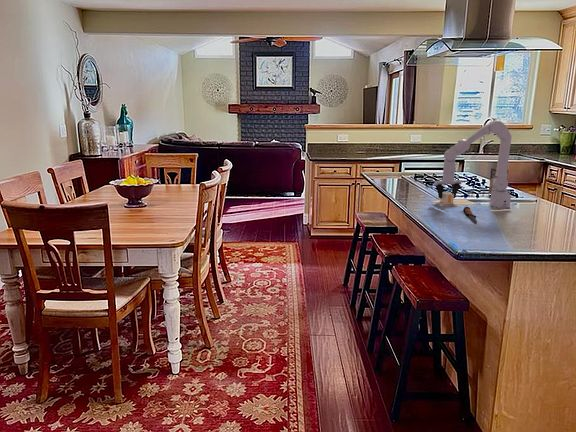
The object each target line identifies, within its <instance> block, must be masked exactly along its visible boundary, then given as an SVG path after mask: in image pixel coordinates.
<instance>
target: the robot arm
mask: <svg viewBox="0 0 576 432" xmlns="http://www.w3.org/2000/svg"><path fill="white" fill-rule="evenodd" d="M491 134H493V135H496V137H497V138H498V139H499V140H500V141H499V150H498V157H497V165H496V168H497V171H496V174H495V177H494V179H493V181H492V184H493V186H494V187H493V188H492V191H491V196H490V201H489V204H490V206H492V207H497V208H498V209H505V208H506V210H509V209H511V208H510V207H511V198H512V197H511V196H512V195H511V194H510V192H508V186H509V181H508V177H507V170H508V165H509V160H510V159H509V158H510V150H511V145H512V135H511V133H510V131H509V128H508V127H507V125H506V124H505V123H504V122H502V121H500V120H497V119H495V120H492V121H490V122H489V123H487V124H485V125H484V126H482V127H481V128H479V129H478V130H477V131H476V132H474V133H473V134H472V135H470V136H469V137H468V138H467V139H459V140H458V141H457V143H456V144H454V145H453V146H450V147H449V149H447V150H446V151H444V154H443V157H444V160H443V161H444V162H443V169H442V180H441V179H440V180H434V186H435V189H436V191H437V195H438V199H439V200H440V199H442V193H443V192H444V187H445V185H447V186H448V185H451V193H452V194H454V198H453V199H456V195H457V194H458V191H459V190H460V189H461V185H462V183H463V181H462V180H459V179H455V173H456V172H455V170H456V159H457V157H458V156H460V155H462V154H464V153H465V152H466V151H468V150H469V149H470V147H471V145H472V144H473V143H474V142H476V141H478V140H479V139H480V138H481V137H483V136H485V135H486V136H487V135H491Z"/></svg>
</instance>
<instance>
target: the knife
mask: <svg viewBox="0 0 576 432" xmlns="http://www.w3.org/2000/svg"><path fill="white" fill-rule="evenodd" d="M463 212H464V213H465V215H464V216H465V217H467V218H469V219H470V220H471V222H472V223H473V224H474V225H477V224H478V221H477V215H475V214H473V212H472V210H471V208H470V207H469V206H464V208H463Z"/></svg>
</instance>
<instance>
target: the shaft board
mask: <svg viewBox="0 0 576 432" xmlns="http://www.w3.org/2000/svg"><path fill="white" fill-rule="evenodd" d="M429 201H431V202H433V203H436V204H438V205H441V206H443V207H452V206H455V207H456V206H473V205H477V206H478V203H476V202H473V201H470V200H467V199H464V198H453V203H448V204H445V203H442V202H440V199H429Z"/></svg>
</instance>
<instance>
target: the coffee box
mask: <svg viewBox="0 0 576 432" xmlns="http://www.w3.org/2000/svg"><path fill="white" fill-rule="evenodd" d="M496 171H497V167H493V168H491V169H490V175H489V176H490V178H489V186H488V194H489V193H490V194H491V191H492V188H493V187H494V186H493V184H492V181H493V179H494V177H495V174H496ZM508 174H509V170H508V169H507V178H508Z"/></svg>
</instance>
